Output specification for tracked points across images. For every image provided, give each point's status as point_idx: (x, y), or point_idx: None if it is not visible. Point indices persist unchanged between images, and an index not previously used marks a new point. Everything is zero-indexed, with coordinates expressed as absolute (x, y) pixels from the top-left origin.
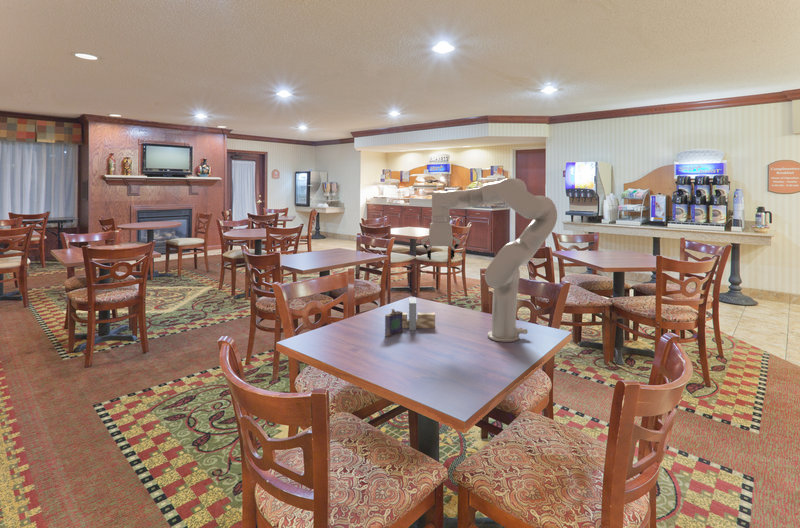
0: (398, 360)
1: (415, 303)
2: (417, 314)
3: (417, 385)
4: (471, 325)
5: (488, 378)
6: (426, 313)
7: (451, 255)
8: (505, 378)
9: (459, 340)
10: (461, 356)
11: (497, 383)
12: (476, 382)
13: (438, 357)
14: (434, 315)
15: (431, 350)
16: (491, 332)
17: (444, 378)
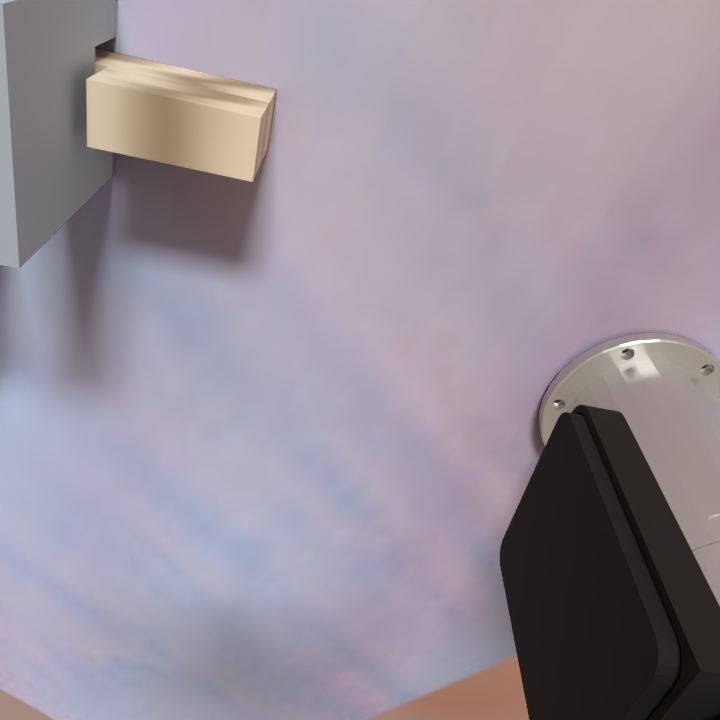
0: (19, 550)
1: (12, 265)
2: (88, 131)
3: (94, 692)
4: (576, 147)
5: (328, 694)
6: (176, 128)
7: (519, 646)
8: (381, 700)
9: (359, 404)
10: (298, 561)
11: (341, 716)
12: (280, 704)
13: (196, 554)
14: (247, 177)
15: (176, 490)
16: (578, 400)
17: (186, 675)
